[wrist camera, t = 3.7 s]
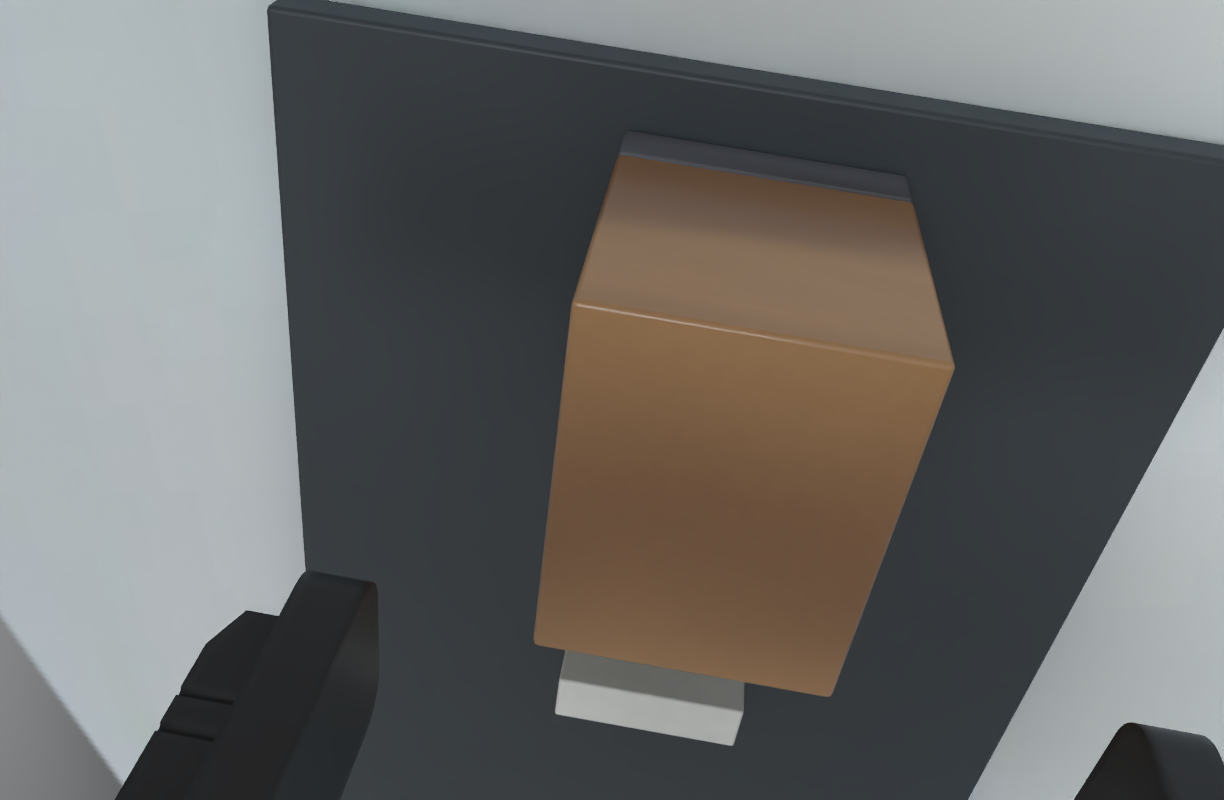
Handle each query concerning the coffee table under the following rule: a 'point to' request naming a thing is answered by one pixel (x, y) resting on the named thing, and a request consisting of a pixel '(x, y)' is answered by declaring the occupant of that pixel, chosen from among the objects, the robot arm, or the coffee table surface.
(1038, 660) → the slate
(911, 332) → the eraser
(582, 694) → the chalk
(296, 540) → the coffee table surface
